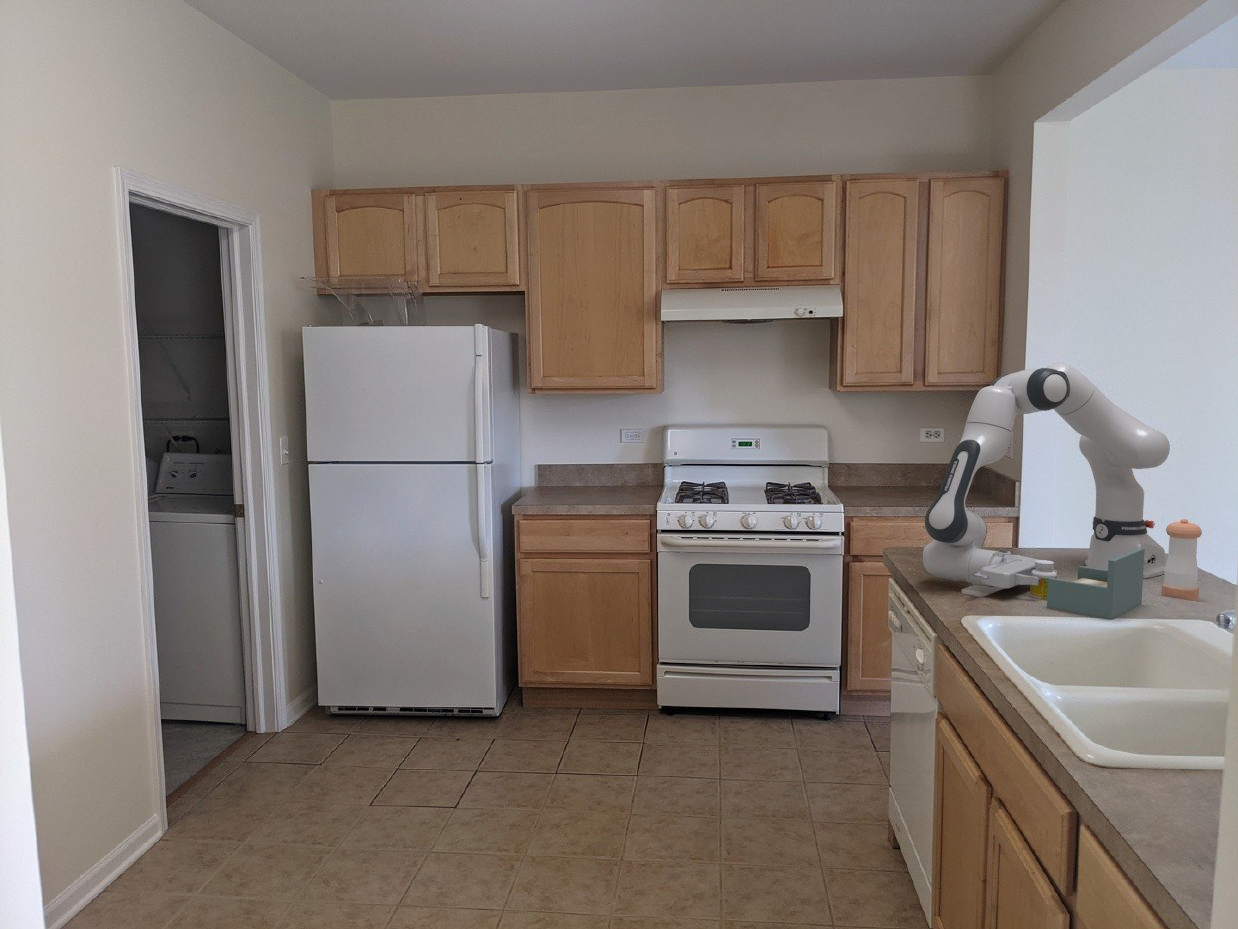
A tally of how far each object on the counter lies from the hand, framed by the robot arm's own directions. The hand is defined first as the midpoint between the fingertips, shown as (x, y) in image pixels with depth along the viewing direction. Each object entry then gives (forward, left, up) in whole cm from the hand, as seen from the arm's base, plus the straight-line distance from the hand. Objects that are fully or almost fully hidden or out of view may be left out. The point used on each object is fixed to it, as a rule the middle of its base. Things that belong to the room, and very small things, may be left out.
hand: (1047, 578), depth 203 cm
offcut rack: (-4, +9, -6) cm, 11 cm away
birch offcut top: (-4, +9, -2) cm, 10 cm away
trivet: (+5, -12, -6) cm, 14 cm away
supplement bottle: (0, -1, -6) cm, 6 cm away
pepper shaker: (-31, +9, -6) cm, 33 cm away
